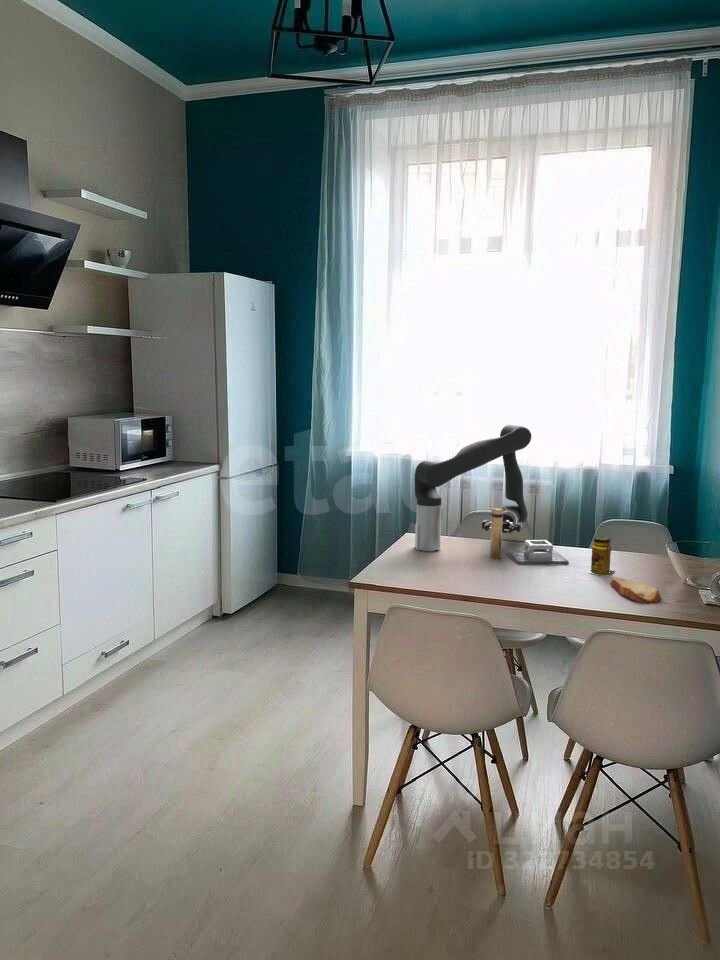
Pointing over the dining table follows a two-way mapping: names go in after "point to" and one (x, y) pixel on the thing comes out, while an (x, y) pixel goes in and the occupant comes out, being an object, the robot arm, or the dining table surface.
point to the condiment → (601, 557)
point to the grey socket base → (538, 554)
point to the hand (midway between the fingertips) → (498, 529)
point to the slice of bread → (636, 590)
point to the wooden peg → (496, 533)
